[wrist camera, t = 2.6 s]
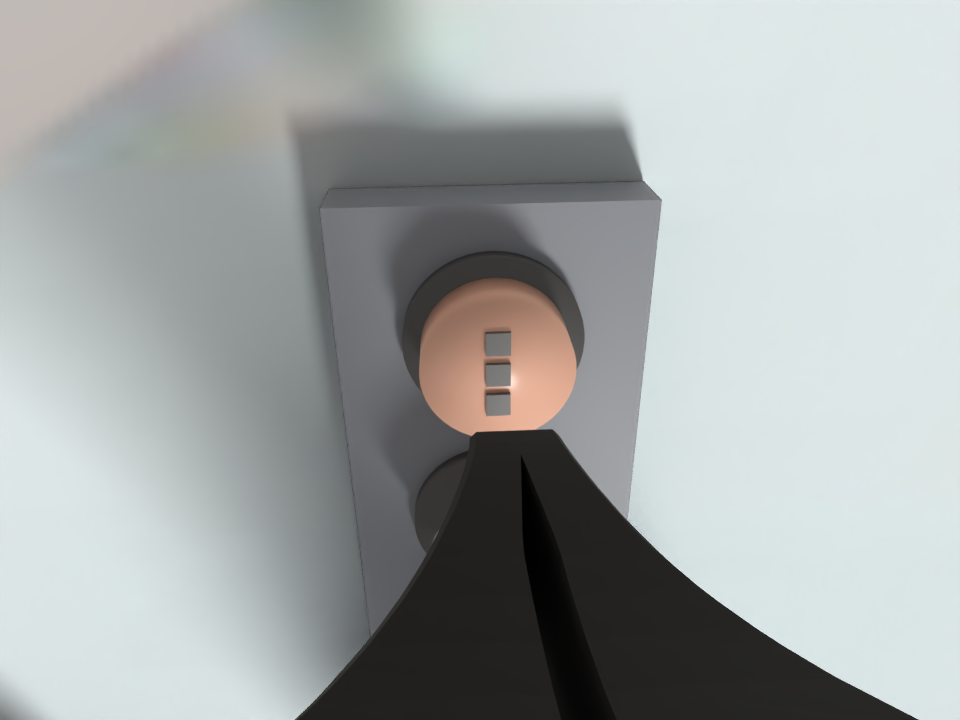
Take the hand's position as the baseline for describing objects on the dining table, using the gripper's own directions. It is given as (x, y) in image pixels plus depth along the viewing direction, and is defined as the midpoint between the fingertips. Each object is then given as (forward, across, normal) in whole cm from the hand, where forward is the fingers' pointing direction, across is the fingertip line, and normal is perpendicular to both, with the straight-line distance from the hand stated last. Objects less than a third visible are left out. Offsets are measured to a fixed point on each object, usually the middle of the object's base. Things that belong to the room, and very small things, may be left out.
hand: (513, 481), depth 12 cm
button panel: (+7, 0, +5) cm, 8 cm away
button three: (+5, 0, 0) cm, 5 cm away
